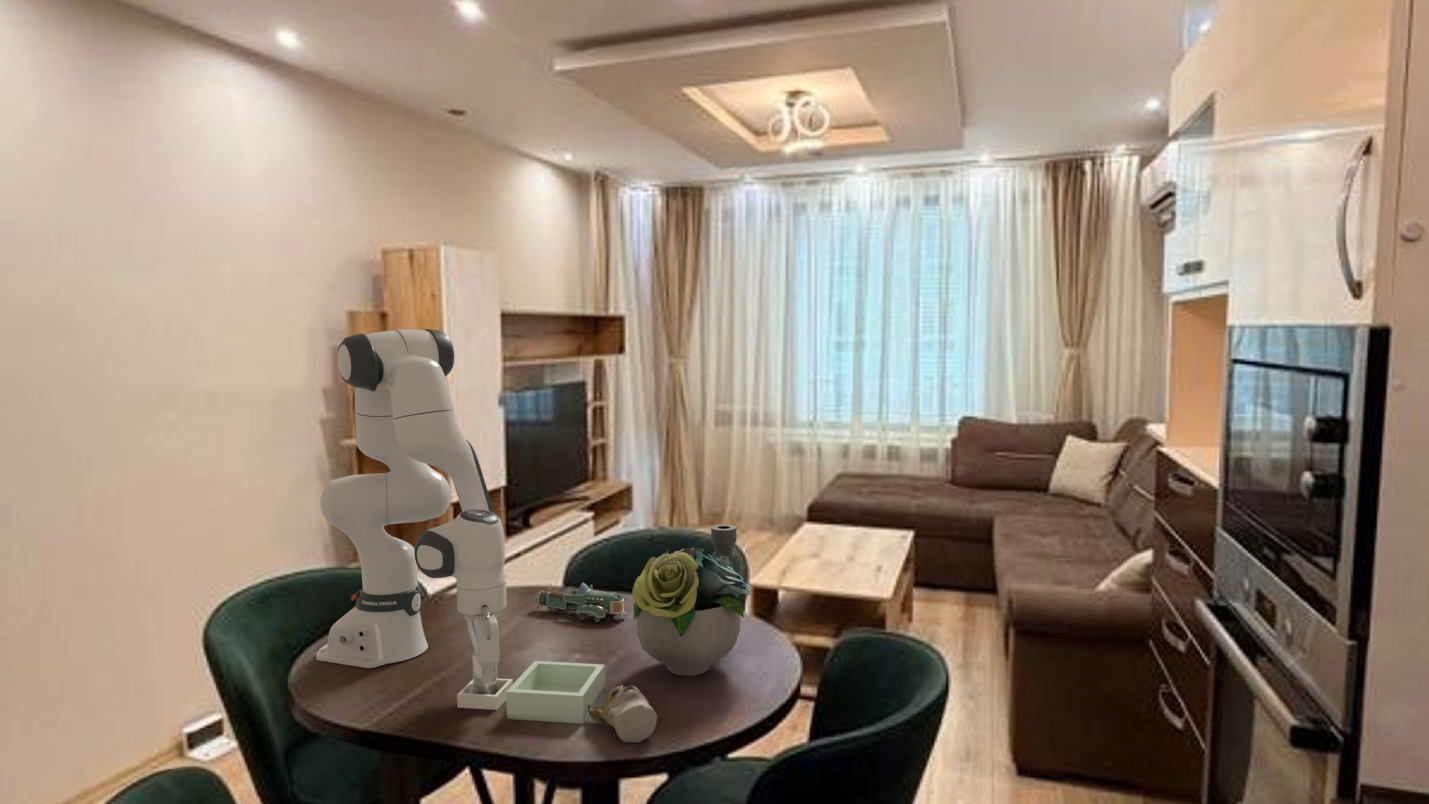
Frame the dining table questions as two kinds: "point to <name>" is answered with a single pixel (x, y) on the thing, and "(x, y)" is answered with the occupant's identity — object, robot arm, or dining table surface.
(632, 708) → the ceramic sculpture
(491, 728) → the dining table surface
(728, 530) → the candle holder
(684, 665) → the flower arrangement
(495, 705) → the socket collar
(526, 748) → the dining table surface
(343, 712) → the dining table surface
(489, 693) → the clear glass cylinder
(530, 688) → the tray
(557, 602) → the green metal elongated vehicle
